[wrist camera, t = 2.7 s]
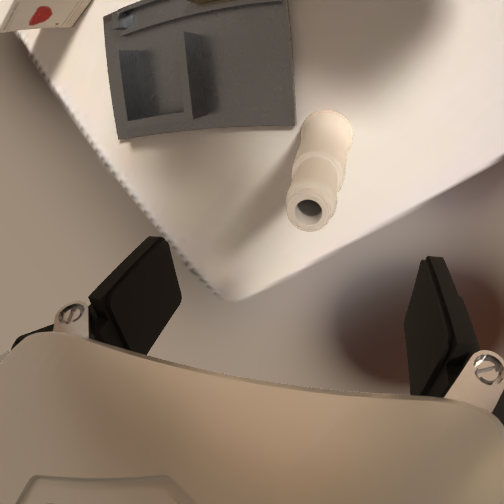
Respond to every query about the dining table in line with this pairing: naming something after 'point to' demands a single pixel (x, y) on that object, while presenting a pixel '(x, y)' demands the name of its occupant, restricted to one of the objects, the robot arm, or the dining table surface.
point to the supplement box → (39, 13)
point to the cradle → (199, 65)
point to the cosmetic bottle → (318, 170)
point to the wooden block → (198, 1)
